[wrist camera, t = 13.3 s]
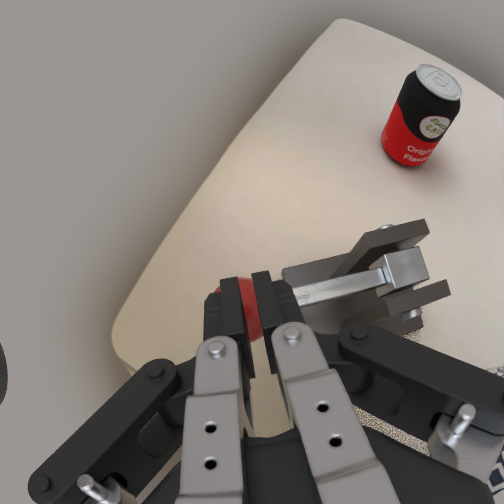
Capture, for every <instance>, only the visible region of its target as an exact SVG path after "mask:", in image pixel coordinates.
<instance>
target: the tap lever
mask: <svg viewBox="0 0 504 504" xmlns="http://www.w3.org/2000/svg"><path fill="white" fill-rule="evenodd" d="M369 269H370V270H366V271H362V272H358V273H354V274H350V275H346V276H342V277H338V278H334V279H329V280H325V281H321V282H317V283H312V284H308V285H304V286H299V287H295V288H292V289H293V292H294V294H295V297H296V300H297V302H298V305H299V307H300V308H304V307H308V306H312V305H316V304H320V303H324V302H328V301H332V300H336V299H340V298H344V297H347V296H351V295H355V294H359V293H362V292H366V291H369V290H373V289H376V292H377V296H378V298H381V297H384V296H387V295H390V294H394V293H397V292H400V291H403V290H407V289H410V288H412V287H414V286H416V285H418V284H420V283H422V282H424V281H426V280H428V279H429V278H430V277H429V274H428V271H427V268H426V265H425V262H424V259H423V256H422V254H421V251H420V248H419V246H416V247H412V248H408V249H404V250H399V251H395V252H391V253H387V254H384V255H382V256H381V257H380V258H379V259H377V260H376V261H375V262H373V263H372V264H371V265H370V266H369ZM238 281H239V286H240V290H241V295H242V299H243V304H244V308H245V313H246V319H247V325H248V332H249V338H250V342H253V341H256V340H258V339H260V338H261V337H262V336H263V331H262V327H261V322H260V317H259V312H258V307H257V302H256V296H255V291H254V286H253V281H252V279H250V278H245V277H239V278H238ZM216 292H220V286H219V287H218V288H217V289H216V290H215V291H214V293H216Z"/></svg>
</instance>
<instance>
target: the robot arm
mask: <svg viewBox="0 0 504 504" xmlns="http://www.w3.org/2000/svg"><path fill="white" fill-rule="evenodd" d="M251 276H252V281H253V286H254V291H255V296H256V302H257V307H258V312H259V317H260V322H261V327H262V331H263V336H264V341H265V346H266V351H267V355H268V360H269V365H270V370H271V375H272V374H277V376H278V380H279V386H280V391H281V395H282V399H283V402H284V406H285V410H286V413H287V417H288V421H289V424H290V428H291V430H288V431H286V432H284V433H282V434H279V435H277V436H274V437H271V438H262V437H255V428H254V418H253V408H252V398H251V393H250V390H251V386H250V379H251V378H256V377H255V371H254V364H253V358H252V352H251V345H250V338H249V332H248V325H247V319H246V313H245V308H244V304H243V299H242V295H241V290H240V286H239V281H238V277H237V276H236V277H231V278H226V279H221V280H220V292H216V293H210V294H209V296H208V297H207V299H206V300H205V302H204V311H205V312H204V337H203V343H201V345H200V346H199V347H198V349H197V353H196V356H195V357H194V358H192V359H191V360H189V361H186V362H184V363H181V364H179V365H176V366H175V364H174V363H173V362H172V361H170V360H168V359H155V360H152V361H150V362H148V363H146V364H145V365H144V366H142V367H141V368H140V369H139V370H138V371H137V372H136V373H135V374H134V375H133V376H132V377H131V378H130V379H129V380H128V381H127V382H126V383H125V384H124V385H123V386H122V387H121V388H120V389H119V390H118V391H117V392H116V393H115V394H114V395H113V396H112V397H111V398H110V399H109V400H108V401H107V402H106V403H105V404H104V405H103V406H101V408H99V409H98V411H96V412H95V413H94V414H93V415H92V416H91V417H90V418H89V419H88V420H87V421H86V422H85V423H84V424H83V425H82V426H81V427H80V428H79V429H78V430H77V431H76V432H75V433H74V434H73V435H72V436H71V437H70V438H69V439H68V440H67V441H66V442H64V444H62V445H61V446H60V447H59V449H57V450H56V451H55V452H54V453H53V454H52V455H51V456H50V457H49V458H48V459H47V460H46V461H45V462H44V463H43V464H42V465H41V466H40V467H39V468H38V469H37V470H36V471H35V472H34V473H33V474H32V475H31V477H30V479H29V482H28V492H29V495H30V497H31V498H32V500H33V501H35V502H36V503H37V504H137V501H136V499H135V498H136V497H137V496H138V495H139V494H140V492H141V491H142V490H143V489H144V488H145V487H146V486H147V485H148V483H149V482H150V481H151V480H152V479H153V478H154V477H155V475H156V474H157V473H158V472H159V471H160V470H161V469H162V467H163V466H164V465H165V464H166V463H167V461H168V460H169V459H170V458H171V457H172V455H173V454H174V453H175V452H176V451H177V450H178V448H179V447H180V446H181V445H182V460H181V461H180V462H179V463H177V464H176V465H175V466H174V467H173V468H172V469H171V471H170V472H169V473H168V474H167V475H166V477H165V478H164V479H163V480H162V481H161V482H160V483H159V485H158V486H157V487H156V488H155V489H154V490H153V491H152V492H151V494H150V495H149V496H148V497H147V498H146V499H145V500H144V501H143V503H142V504H495V502H494V498H493V495H492V493H491V491H490V490H489V488H488V487H487V486H486V483H487V481H488V479H489V477H490V475H491V472H492V470H493V468H494V466H495V464H496V461H497V459H498V457H499V454H500V452H501V450H502V447H503V445H504V377H501V376H499V375H496V374H494V373H491V372H488V371H486V370H483V369H481V368H478V367H476V366H473V365H471V364H468V363H466V362H463V361H461V360H458V359H456V358H453V357H451V356H448V355H446V354H443V353H441V352H438V351H436V350H433V349H431V348H428V347H426V346H423V345H421V344H419V343H416V342H414V341H411V340H409V339H406V338H404V337H402V336H399V335H397V334H394V333H392V332H389V331H387V330H385V329H382V328H380V327H377V326H375V325H373V324H370V323H367V322H361V321H360V322H352V323H349V324H347V325H345V326H344V327H342V328H341V330H340V331H339V334H321V333H317V332H315V331H313V330H312V329H311V328H310V327H309V326H308V325H306V323H305V320H304V317H303V315H302V312H301V310H300V307H299V305H298V302H297V300H296V297H295V294H294V292H293V289H292V287H291V285H290V284H289V283H287V282H286V281H285V280H278V281H273V282H272V280H271V277H270V274H269V271H268V270H267V271H262V272H257V273H252V274H251ZM352 404H353V405H355V406H357V407H359V408H361V409H362V410H364V411H366V412H368V413H370V414H372V415H374V416H375V417H377V418H379V419H381V420H383V421H385V422H387V423H389V424H391V425H393V426H395V427H396V428H398V429H400V430H402V431H404V432H406V433H408V434H410V435H412V436H414V437H416V438H418V439H421V440H423V441H425V442H427V448H428V451H429V453H430V455H431V456H432V457H433V458H431V457H429V456H427V455H425V454H422V453H420V452H418V451H416V450H414V449H412V448H410V447H408V446H406V445H404V444H402V443H400V442H398V441H396V440H394V439H392V438H390V437H388V436H387V435H385V434H383V433H381V432H379V431H377V430H375V429H372V428H369V427H366V426H362V425H361V423H360V420H359V418H358V416H357V414H356V412H355V409H354V407H353V405H352ZM157 412H158V413H157ZM156 413H157V414H156ZM155 414H156V415H155ZM154 415H155V417H154ZM153 417H154V418H153ZM152 418H153V419H152ZM151 419H152V420H151ZM150 420H151V421H150ZM149 421H150V422H149ZM148 422H149V423H148ZM147 423H148V424H147ZM146 424H147V425H146ZM145 425H146V427H144V426H145ZM143 427H144V428H143ZM142 429H143V430H142ZM141 430H142V431H141ZM140 431H141V432H140ZM139 432H140V433H139Z"/></svg>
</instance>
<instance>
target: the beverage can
mask: <svg viewBox="0 0 504 504" xmlns="http://www.w3.org/2000/svg"><path fill="white" fill-rule="evenodd" d="M461 96H462V89H461V87H460V85H459V83H458V82H457V81H456V80H455V78H454V77H452V76H451V75H450V74H449V73H448V72H446V71H445V70H443V69H441V68H439V67H437V66H434V65H431V64H421V65H419V66H418V67H417V69H416V71H413V72H412V73H410V74H409V75H408V76H407V77H406V79H405V82H404V84H403V86H402V89H401V91H400V93H399V96H398V98H397V100H396V103H395V105H394V107H393V110H392V112H391V114H390V116H389V119H388V121H387V123H386V125H385V128H384V130H383V132H382V143H383V146H384V148H385V150H386V151H387V153H388V154H389V155H390V156H391V157H392V158H393V159H395V160H396V161H398V162H399V163H402V164H404V165H408V166H417V165H420V164H422V163H424V162H425V161H426V160H427V158H428V157H429V155H430V154H431V153H432V151H433V150H434V148H435V147H436V145H437V144H438V142H439V141H440V140H441V138H442V137H443V135H444V134H445V132H446V131H447V129H448V128H449V126H450V125H451V123H452V122H453V120H454V119H455V117H456V116H457V114H458V112H459V110H460V98H461Z"/></svg>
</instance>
